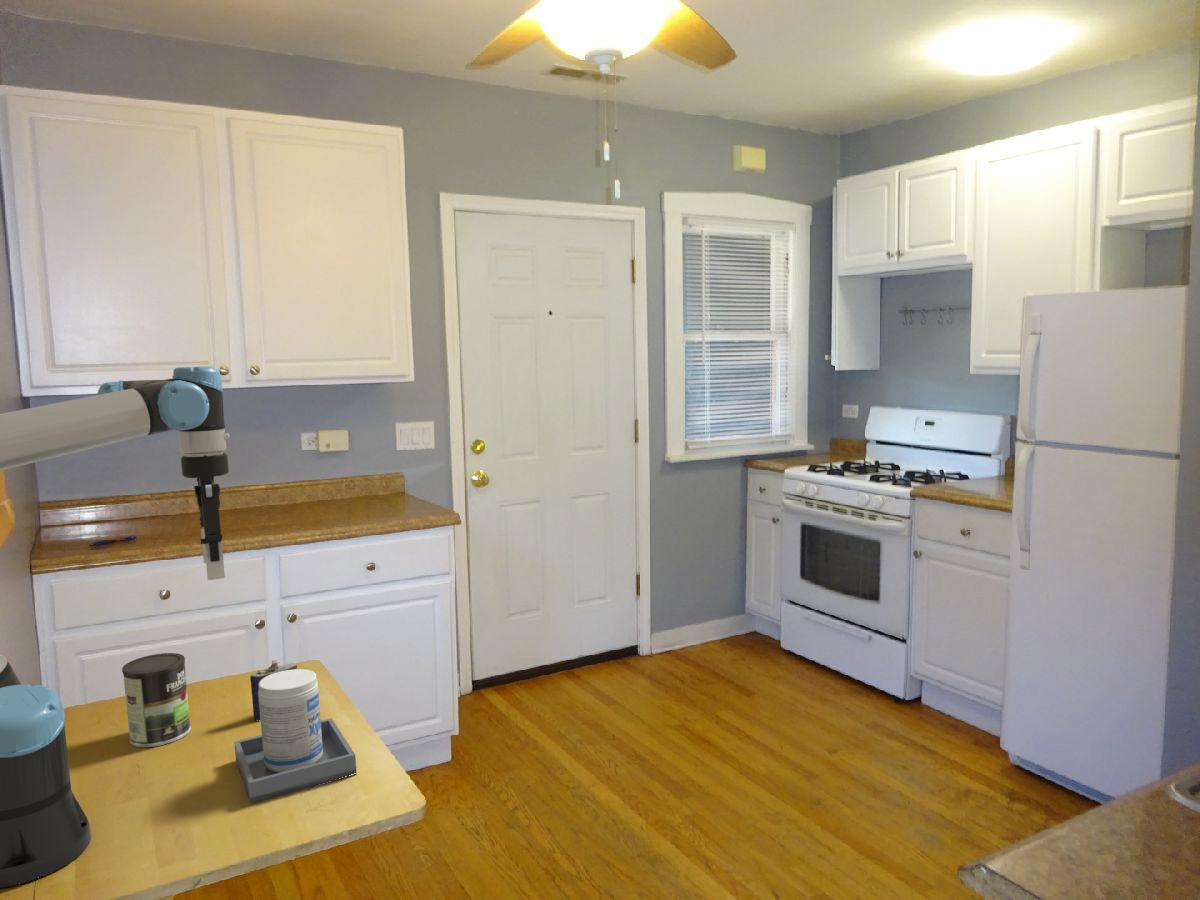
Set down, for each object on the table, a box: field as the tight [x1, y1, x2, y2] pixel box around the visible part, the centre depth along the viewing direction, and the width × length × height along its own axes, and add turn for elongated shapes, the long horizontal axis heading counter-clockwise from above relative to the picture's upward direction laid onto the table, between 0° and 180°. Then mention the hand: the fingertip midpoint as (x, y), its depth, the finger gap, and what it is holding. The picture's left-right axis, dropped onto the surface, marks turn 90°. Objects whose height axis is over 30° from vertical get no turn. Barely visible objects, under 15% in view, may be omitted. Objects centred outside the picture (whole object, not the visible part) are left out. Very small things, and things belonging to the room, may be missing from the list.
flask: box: [249, 659, 298, 722], centre depth 163 cm, size 9×3×11 cm, turn 136°
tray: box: [234, 717, 357, 805], centre depth 142 cm, size 17×17×4 cm
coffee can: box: [121, 652, 192, 748], centre depth 155 cm, size 10×10×14 cm
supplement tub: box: [258, 668, 323, 773], centre depth 141 cm, size 10×10×15 cm
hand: (213, 570), depth 151 cm, fingers open, 13 cm apart
